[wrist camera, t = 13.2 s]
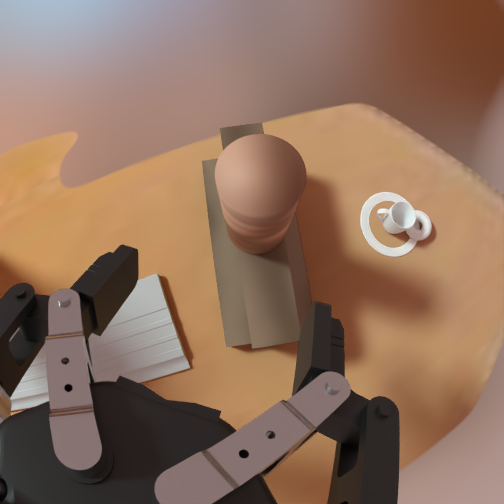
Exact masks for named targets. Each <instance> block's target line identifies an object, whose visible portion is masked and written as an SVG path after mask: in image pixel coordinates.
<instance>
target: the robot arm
mask: <svg viewBox="0 0 504 504" xmlns="http://www.w3.org/2000/svg"><path fill="white" fill-rule="evenodd" d="M137 281H138V250H137V249H135V248H132V247H129V246H126V245H120V246H119V247H118V248H117V249H116V250H115V251H114V253H111V252H108V253H106V254H104V255H102V256H100V257H99V258H98V259H97V260H96V261H95V262H94V263H93V265H91V266H90V267H89V268H88V270H87V271H86V272H85V273H84V274H83V275H82V276H81V277H80V278H79V279H78V280H77V281H76V282H75V283H74V285H73V286H72V287H71V288H70V289H60V290H58V291H56V292H54V293H53V294H52V295H51V296H46V295H38V294H35V291H34V288H33V287H32V286H31V285H30V284H27V283H19V284H16V285H14V286H13V287H11V288H10V289H9V290H8V291H7V293H6V294H5V295H4V296H3V297H2V298H1V299H0V504H277V502H276V500H275V498H274V497H273V495H272V493H271V491H270V490H269V488H268V486H267V484H266V482H265V480H264V479H263V478H264V477H265V476H267V475H268V474H269V473H270V472H272V471H273V470H274V469H275V468H277V467H278V466H279V465H280V464H281V463H283V462H284V461H285V460H286V459H287V458H288V457H289V456H290V455H292V454H293V453H294V452H295V451H296V450H298V449H299V448H300V447H301V446H302V445H303V444H305V443H306V442H307V441H308V440H309V439H310V438H311V437H313V436H314V435H315V434H316V433H317V432H319V433H321V434H323V435H325V436H327V437H329V438H331V439H333V440H335V441H337V444H336V452H335V459H334V466H333V473H332V479H331V486H330V492H329V497H328V503H327V504H397V498H398V482H399V411H398V408H397V406H396V405H395V403H394V402H393V401H391V400H390V399H388V398H386V397H382V396H378V397H375V398H373V399H371V400H368V399H366V398H364V397H362V396H360V395H358V394H356V393H355V392H353V391H352V390H351V388H350V384H349V382H348V381H347V379H346V378H345V364H344V329H343V327H342V324H341V322H340V320H339V319H335V318H331V305H328V304H324V303H321V302H317V301H314V302H313V304H312V306H311V308H310V311H309V313H308V315H307V317H306V320H305V322H304V324H303V326H302V329H301V333H300V337H299V345H298V354H297V362H296V370H295V377H294V385H293V392H292V397H291V398H290V399H288V400H287V401H284V400H282V401H280V402H278V403H277V404H275V405H274V406H272V407H271V408H270V409H268V410H267V411H265V412H264V413H263V414H261V415H260V416H258V417H257V418H255V419H254V420H252V421H251V422H249V423H248V424H247V425H245V426H244V427H242V428H241V429H239V430H237V431H236V430H235V429H234V428H233V427H232V426H231V425H230V424H228V423H227V422H226V421H224V420H222V419H221V418H219V417H220V413H221V411H219V410H216V409H212V408H209V407H206V406H203V405H199V404H196V403H189V402H179V401H171V400H166V399H164V398H162V397H161V396H159V395H158V394H156V393H155V392H153V391H152V390H150V389H149V388H147V387H146V386H144V385H142V384H140V383H137V382H135V381H132V380H130V379H127V378H125V377H123V376H120V375H119V377H118V379H117V381H116V382H115V381H100V382H96V378H95V373H94V368H93V362H92V356H91V350H90V343H89V337H90V335H91V334H92V333H93V334H95V335H98V336H101V335H102V333H103V332H104V331H105V329H106V328H107V326H108V325H109V323H110V322H111V320H112V319H113V318H114V316H115V315H116V313H117V312H118V311H119V309H120V308H121V306H122V305H123V304H124V302H125V301H126V299H127V298H128V297H129V295H130V294H131V293H132V291H133V290H134V288H135V287H136V284H137ZM18 328H19V330H18V331H17V329H18ZM16 331H17V332H16ZM15 332H16V334H15V335H14V336H13V334H14V333H15ZM12 336H13V338H12V339H11V337H12ZM10 339H11V340H10ZM9 341H10V342H9ZM44 344H45V350H46V369H47V383H48V393H49V401H47V402H45V403H42V404H40V405H37V406H35V407H32V408H29V409H27V410H24V411H22V412H19V413H17V414H14V415H12V416H11V413H10V411H11V408H12V403H11V399H10V398H11V396H12V394H13V393H14V391H15V389H16V388H17V386H18V384H19V383H20V381H21V379H22V378H23V376H24V375H25V373H26V372H27V370H28V368H29V367H30V365H31V364H32V362H33V361H34V359H35V358H36V356H37V355H38V353H39V352H40V350H41V349H42V347H43V346H44Z"/></svg>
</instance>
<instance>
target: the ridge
mask: <svg viewBox="0 0 504 504" xmlns="http://www.w3.org/2000/svg"><path fill="white" fill-rule="evenodd" d="M220 131H221V139H222V146H223V150H224V149H225V148H226V147H227V146H228V145H229V144H231V143H232V142H234V141H235V140H237V139H239V138H242V137H244V136H248V135H253V134H264V131H263V126H262V123H256V124H248V125H240V126H233V127H226V128H220ZM217 160H218V159H212V160H206V161H202V165H203V174H204V183H205V192H206V201H207V209H208V218H209V226H210V234H211V242H212V250H213V257H214V265H215V272H216V280H217V287H218V294H219V301H220V308H221V315H222V321H223V328H224V335H225V341H226V347H231V346H238V345H245V344H252V349H254V348H261V347H267V346H273V345H279V344H285V343H291V342H296V341H299V337H300V333H301V329H302V326H303V324H304V322H305V320H306V317H307V315H308V313H309V311H310V308H311V306H312V300H311V294H310V288H309V282H308V277H307V271H306V266H305V260H304V255H303V249H302V244H301V239H300V234H299V229H298V223H297V218H296V213H295V212H294V215H293V217H292V220H291V222H290V225H289V227H288V230H287V232H286V235H285V237H284V239H283V241H282V242H281V243H280V245H279V246H278V247H277V248H275V249H274V250H272V251H270V252H268V253H264V254H249V253H246V252H244V251H242V250H240V249H239V248H238V247H236V246H235V245H234V244H233V242H232V241H231V239H230V237H229V235H228V231H227V227H226V223H225V219H224V215H223V211H222V207H221V203H220V199H219V194H218V190H217V186H216V181H215V167H216V163H217Z"/></svg>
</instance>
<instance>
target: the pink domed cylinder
mask: <svg viewBox="0 0 504 504" xmlns="http://www.w3.org/2000/svg"><path fill="white" fill-rule="evenodd" d="M215 181H216V186H217V190H218V194H219V199H220V203H221V207H222V211H223V215H224V219H225V223H226V227H227V231H228V235H229V237H230V239H231V241H232V242H233V244H234V245H235V246H236V247H238V248H239V249H240V250H242V251H244V252H246V253H249V254H264V253H268V252H270V251H272V250H274V249H275V248H277V247H278V246H279V245H280V243H281V242H282V241H283V239H284V237H285V235H286V232H287V230H288V227H289V225H290V222H291V220H292V217H293V215H294V212H295V210H296V207H297V205H298V202H299V200H300V197H301V195H302V192H303V190H304V187H305V183H306V168H305V164H304V162H303V159H302V157H301V156H300V154H299V153H298V151H297V150H296V149H295V148H294V147H293V146H292V145H290V144H289V143H288V142H286V141H284V140H283V139H280V138H278V137H275V136H272V135H266V134H253V135H248V136H244V137H242V138H239V139H237V140H235V141H234V142H232V143H231V144H229V145H228V146H227V147H226V148H225V149H224V150H223V152H222V153H221V155H220V156H219V158H218V160H217V163H216V167H215Z"/></svg>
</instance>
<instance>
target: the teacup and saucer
mask: <svg viewBox="0 0 504 504" xmlns="http://www.w3.org/2000/svg"><path fill="white" fill-rule="evenodd" d="M382 201H392V202H395V204H394V205H393V206H392V207H391V208H390V209H389V210H388V209H384V208H383V209H379V210H378V211H377V218H378V219H379V220H380V221H381V222H382V223H383V227H384V229H385V230H386V231H387V232H388V233H391V234H397V233H400V232H403V231H406V233H407V234H408V236H409V237H410V238H409V240H408V241H407V242H406V243H405V244H404V245H403V246H401V247H397V248H390V247H386V246H384V245H382V244H381V243H379V242H378V241H377V240H376V239H375V237H374V236H373V234H372V232H371V230H370V227H369V215H370V212H371V210H372V208H373V207H374V206H375V205H376V204H377V203H379V202H382ZM381 213H385V216H384V218H382V217H381V216H380V215H379V214H381ZM393 219H394V220H395V221H396V223H397V224H396V223H395V221H394V220H393ZM419 221H420V222H421V223H422V229H421V230H420V225H419ZM360 222H361V228H362V232H363V234H364V236H365V238H366V240H367V241H368V243H369V244H370V245H371V246H372V247H373V248H374V249H375V250H376V251H378V252H379V253H381V254H383V255H386V256H390V257H399V256H403V255H405V254H407V253H408V252H410V251H411V250H412V249H413V248H414V246H415V245H416V243H417V241H418V240H424V239H426V238H427V237H428V236H429V235H430V233H431V229H432V224H431V221H430V219H429V217H428V216H427V215H426V214H425V213H424V212H422V211H418V210H414V209H413V207H412V206H411V205H410V203H409V202H408V201H407V200H405V199H404V198H403V197H401V196H399V195H397V194H394V193H390V192H381V193H377V194H375V195H373V196H371V197H370V198H369V199H368V200H367V201H366V202H365V204H364V206H363V208H362V211H361V217H360Z"/></svg>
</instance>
